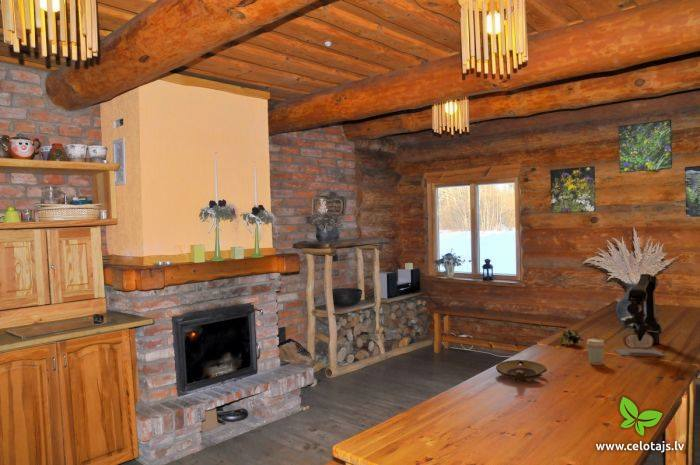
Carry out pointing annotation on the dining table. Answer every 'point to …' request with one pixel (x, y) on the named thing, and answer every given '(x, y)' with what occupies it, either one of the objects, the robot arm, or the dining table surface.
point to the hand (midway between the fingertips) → (638, 340)
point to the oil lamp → (521, 369)
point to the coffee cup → (595, 351)
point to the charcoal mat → (638, 352)
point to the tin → (632, 341)
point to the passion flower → (570, 337)
